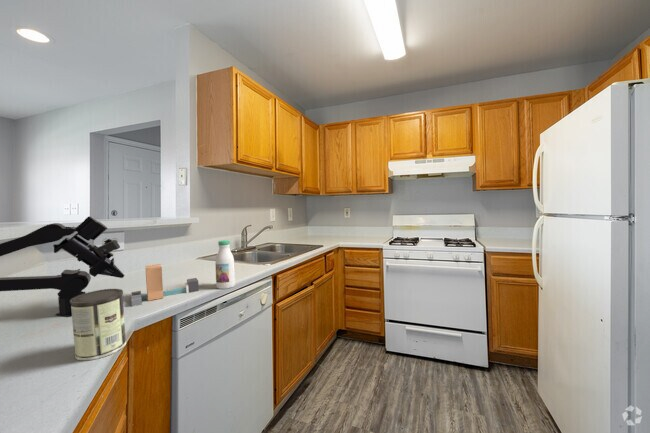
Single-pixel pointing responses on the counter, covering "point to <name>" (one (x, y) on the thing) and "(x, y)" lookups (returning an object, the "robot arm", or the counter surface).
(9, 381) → the counter surface
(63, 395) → the counter surface
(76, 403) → the counter surface
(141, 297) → the cable comb run
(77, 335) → the coffee can
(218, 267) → the milk bottle
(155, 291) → the sleeve
